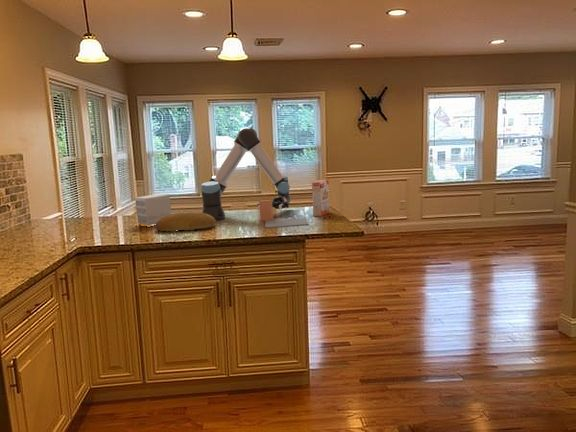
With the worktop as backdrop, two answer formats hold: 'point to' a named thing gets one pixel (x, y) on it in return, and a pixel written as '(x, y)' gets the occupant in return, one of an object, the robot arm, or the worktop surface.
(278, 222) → the mat
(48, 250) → the worktop surface
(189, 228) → the bread
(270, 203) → the deck
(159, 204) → the supplement box
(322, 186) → the cracker box
